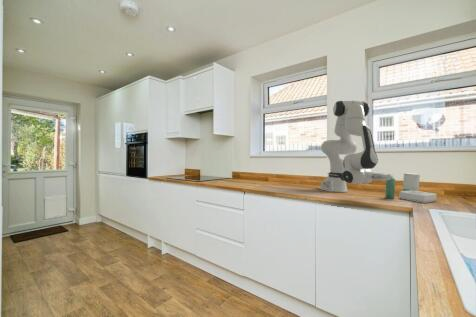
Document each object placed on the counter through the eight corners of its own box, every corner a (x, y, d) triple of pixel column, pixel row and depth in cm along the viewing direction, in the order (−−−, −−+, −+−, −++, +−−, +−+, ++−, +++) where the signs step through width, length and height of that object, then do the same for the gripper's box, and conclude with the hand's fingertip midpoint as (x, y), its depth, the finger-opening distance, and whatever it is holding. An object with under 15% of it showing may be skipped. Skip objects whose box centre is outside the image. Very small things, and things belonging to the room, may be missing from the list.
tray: (399, 198, 149) (399, 191, 149) (411, 196, 155) (411, 190, 155) (424, 202, 136) (424, 195, 136) (436, 201, 142) (436, 193, 142)
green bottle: (383, 197, 151) (384, 175, 150) (388, 197, 153) (389, 174, 152) (391, 199, 146) (392, 176, 146) (396, 198, 148) (396, 175, 148)
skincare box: (402, 194, 162) (402, 173, 162) (404, 193, 167) (405, 172, 166) (416, 196, 156) (417, 174, 155) (419, 195, 160) (419, 173, 160)
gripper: (382, 172, 128) (397, 171, 134) (350, 169, 146) (364, 169, 152) (382, 183, 128) (396, 182, 134) (350, 179, 146) (364, 178, 152)
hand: (379, 175), depth 143 cm, fingers open, 8 cm apart
